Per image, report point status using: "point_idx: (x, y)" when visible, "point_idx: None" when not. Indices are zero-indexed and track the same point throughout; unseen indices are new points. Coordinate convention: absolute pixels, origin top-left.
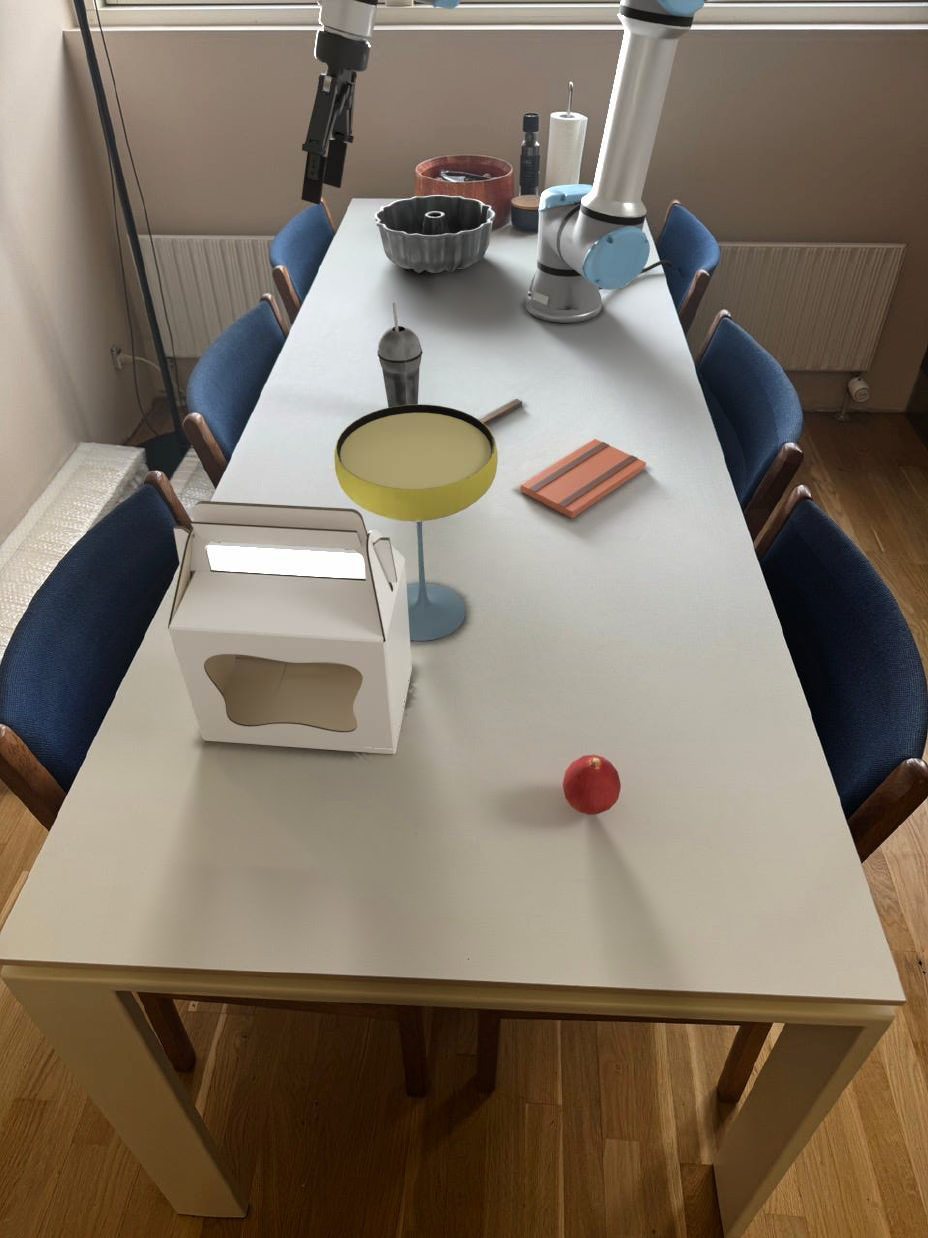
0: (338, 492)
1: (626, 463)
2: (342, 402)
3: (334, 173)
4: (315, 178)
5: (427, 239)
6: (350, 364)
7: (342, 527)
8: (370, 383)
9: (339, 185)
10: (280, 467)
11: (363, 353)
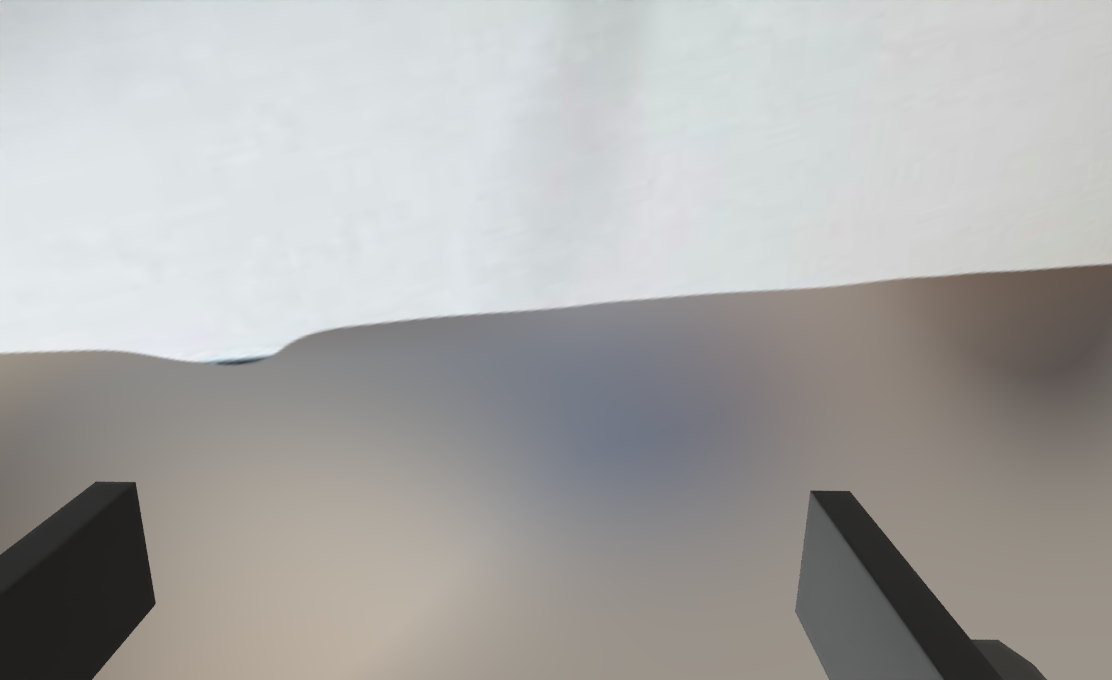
0: (1003, 15)
1: None
2: (556, 110)
3: (86, 595)
4: (1012, 659)
5: None
6: (315, 139)
7: None
8: (428, 45)
9: (128, 495)
10: (871, 189)
11: (225, 113)
